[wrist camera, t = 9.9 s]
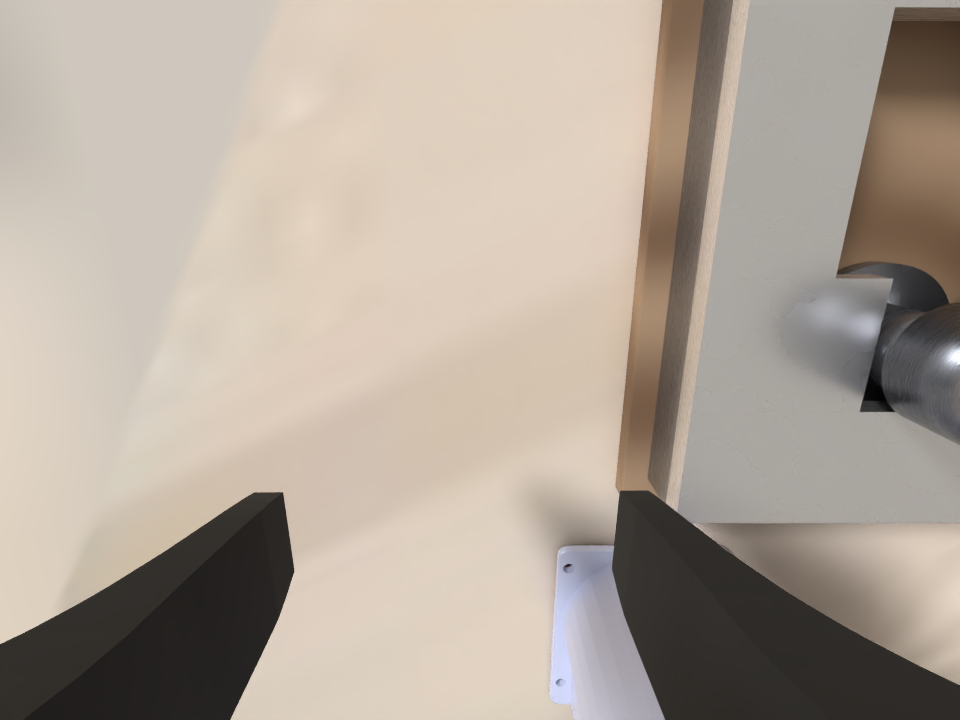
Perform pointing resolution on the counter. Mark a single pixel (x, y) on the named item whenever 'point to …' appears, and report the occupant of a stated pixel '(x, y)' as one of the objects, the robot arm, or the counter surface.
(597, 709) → the robot arm
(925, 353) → the dark grey knob
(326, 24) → the counter surface
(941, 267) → the keyhole board
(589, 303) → the counter surface
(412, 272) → the counter surface
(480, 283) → the counter surface
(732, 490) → the keyhole plate
